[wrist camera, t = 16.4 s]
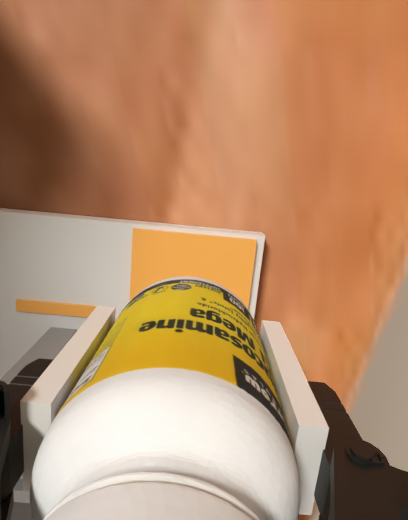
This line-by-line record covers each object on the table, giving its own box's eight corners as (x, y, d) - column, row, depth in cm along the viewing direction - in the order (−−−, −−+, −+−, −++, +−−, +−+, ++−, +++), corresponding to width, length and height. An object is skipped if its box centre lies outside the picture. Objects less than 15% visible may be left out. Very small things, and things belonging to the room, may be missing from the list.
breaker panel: (-7, 451, 26) (-91, 563, 19) (-22, 205, 22) (-137, 225, 14) (230, 470, 26) (239, 588, 19) (262, 232, 22) (289, 264, 15)
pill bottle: (284, 316, 16) (450, 629, 5) (211, 422, 17) (218, 851, 6) (158, 244, 15) (36, 430, 4) (92, 361, 16) (-128, 726, 6)
